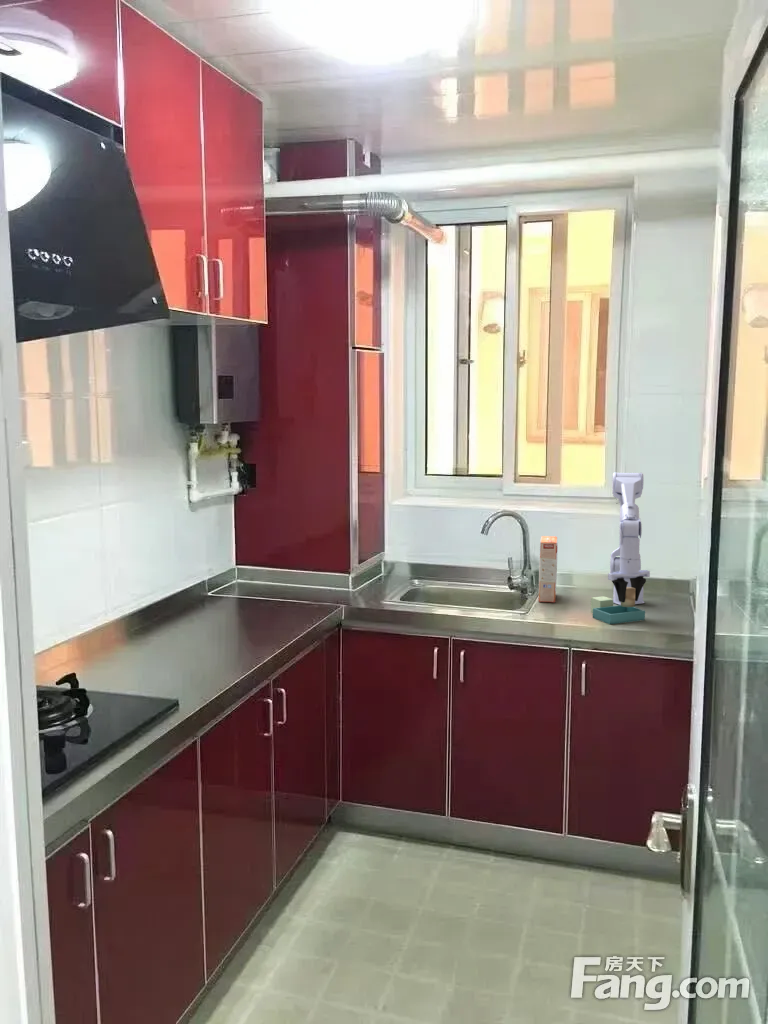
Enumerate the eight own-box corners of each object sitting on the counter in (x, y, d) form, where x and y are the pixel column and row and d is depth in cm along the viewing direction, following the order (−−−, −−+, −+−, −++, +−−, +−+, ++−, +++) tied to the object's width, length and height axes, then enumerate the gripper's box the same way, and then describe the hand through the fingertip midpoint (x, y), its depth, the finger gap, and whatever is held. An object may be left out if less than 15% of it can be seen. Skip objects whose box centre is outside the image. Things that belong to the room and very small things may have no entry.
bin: (626, 613, 281) (626, 604, 281) (644, 620, 273) (645, 610, 272) (592, 617, 276) (592, 608, 276) (610, 624, 268) (610, 614, 267)
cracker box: (556, 603, 296) (557, 542, 293) (538, 602, 297) (539, 541, 295) (556, 594, 310) (557, 535, 307) (539, 593, 311) (540, 535, 308)
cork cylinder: (628, 603, 278) (629, 586, 278) (638, 606, 274) (638, 588, 274) (617, 605, 276) (617, 587, 276) (626, 607, 272) (627, 590, 272)
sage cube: (603, 611, 285) (603, 596, 284) (612, 614, 280) (613, 599, 280) (590, 612, 283) (591, 597, 282) (599, 616, 278) (600, 600, 278)
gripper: (618, 562, 267) (617, 605, 269) (656, 558, 272) (655, 601, 274) (604, 558, 273) (603, 600, 275) (642, 555, 279) (640, 596, 280)
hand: (628, 600), depth 275 cm, fingers closed on cork cylinder, 4 cm apart
